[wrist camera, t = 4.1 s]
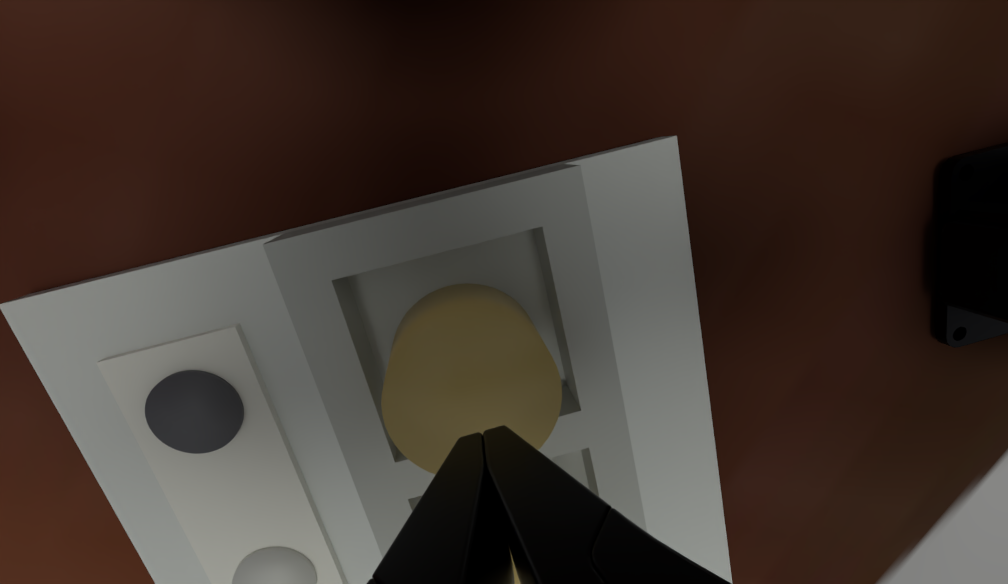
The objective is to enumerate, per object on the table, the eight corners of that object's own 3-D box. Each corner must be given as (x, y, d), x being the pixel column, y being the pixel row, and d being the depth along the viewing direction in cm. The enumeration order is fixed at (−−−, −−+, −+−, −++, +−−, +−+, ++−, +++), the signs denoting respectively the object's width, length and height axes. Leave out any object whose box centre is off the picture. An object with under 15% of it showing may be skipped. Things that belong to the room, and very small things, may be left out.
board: (660, 136, 15) (707, 133, 12) (727, 637, 20) (768, 705, 18) (29, 294, 13) (-63, 326, 11) (289, 775, 19) (267, 867, 17)
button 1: (521, 266, 13) (542, 294, 10) (551, 398, 14) (576, 452, 11) (372, 305, 12) (356, 344, 10) (415, 435, 13) (410, 499, 11)
